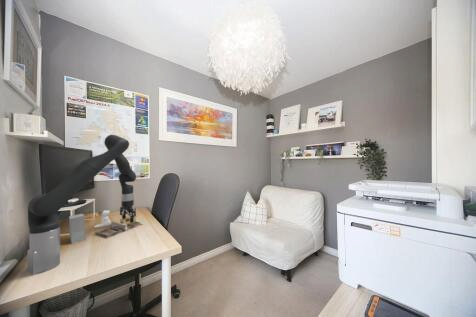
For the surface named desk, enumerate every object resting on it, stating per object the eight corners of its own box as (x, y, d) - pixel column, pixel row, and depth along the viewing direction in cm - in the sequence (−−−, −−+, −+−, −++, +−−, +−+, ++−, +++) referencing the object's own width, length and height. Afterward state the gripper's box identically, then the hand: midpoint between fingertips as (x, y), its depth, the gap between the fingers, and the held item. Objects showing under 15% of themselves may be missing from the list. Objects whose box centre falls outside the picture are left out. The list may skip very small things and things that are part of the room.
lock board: (106, 240, 102) (106, 232, 102) (91, 236, 109) (91, 228, 109) (143, 225, 125) (143, 218, 125) (129, 222, 132) (129, 216, 132)
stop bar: (132, 223, 127) (132, 215, 127) (135, 224, 126) (135, 216, 126) (120, 227, 119) (120, 219, 119) (123, 228, 118) (123, 220, 118)
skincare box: (86, 241, 101) (85, 215, 101) (69, 246, 96) (69, 218, 96) (84, 237, 107) (84, 212, 107) (68, 241, 102) (68, 215, 102)
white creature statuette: (103, 224, 130) (103, 208, 130) (114, 223, 130) (114, 208, 131) (93, 228, 121) (93, 212, 121) (106, 228, 121) (105, 211, 121)
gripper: (139, 199, 123) (139, 221, 123) (126, 197, 129) (126, 218, 129) (128, 201, 116) (129, 225, 116) (116, 200, 122) (116, 222, 122)
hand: (127, 221), depth 123 cm, fingers open, 8 cm apart
